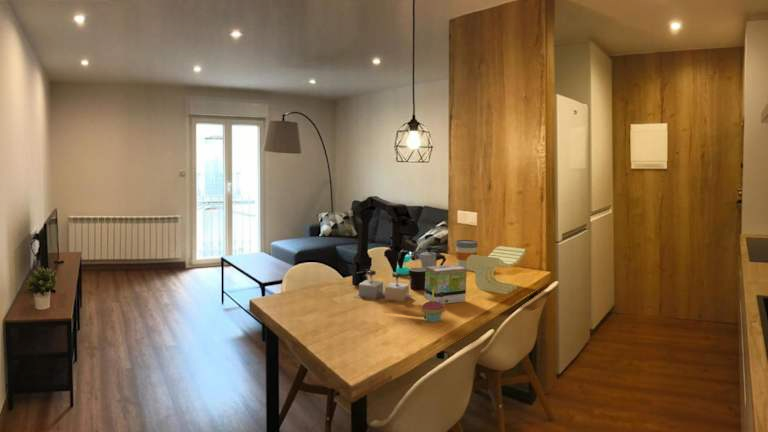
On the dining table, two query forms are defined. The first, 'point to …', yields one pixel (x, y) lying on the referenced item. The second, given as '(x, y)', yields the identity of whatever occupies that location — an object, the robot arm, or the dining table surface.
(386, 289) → the block
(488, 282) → the slatted curved stool
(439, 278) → the tea box
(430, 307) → the cupcake
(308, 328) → the dining table surface
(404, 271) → the donuts
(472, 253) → the reusable coffee cup
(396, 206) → the robot arm
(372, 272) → the inner press plunger
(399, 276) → the outer press plunger
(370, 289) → the grey block
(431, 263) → the coffee maker
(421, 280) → the coffee mug
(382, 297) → the serving board
